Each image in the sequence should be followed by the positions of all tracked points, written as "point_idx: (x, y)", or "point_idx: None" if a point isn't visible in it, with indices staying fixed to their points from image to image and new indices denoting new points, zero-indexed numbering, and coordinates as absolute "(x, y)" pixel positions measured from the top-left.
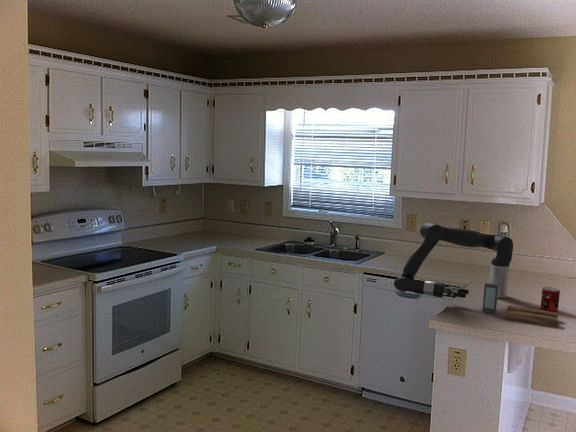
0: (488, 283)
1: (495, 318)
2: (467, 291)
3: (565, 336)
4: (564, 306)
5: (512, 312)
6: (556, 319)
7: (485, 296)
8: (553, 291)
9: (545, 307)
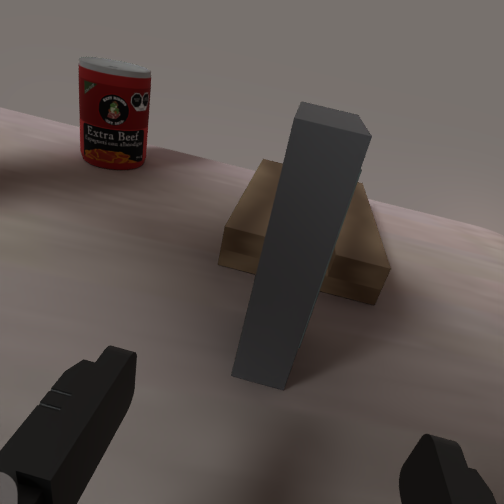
0: (317, 117)
1: (400, 344)
2: (128, 377)
3: (442, 222)
4: (53, 127)
5: (376, 249)
6: (362, 184)
7: (328, 262)
8: (150, 76)
9: (134, 155)
